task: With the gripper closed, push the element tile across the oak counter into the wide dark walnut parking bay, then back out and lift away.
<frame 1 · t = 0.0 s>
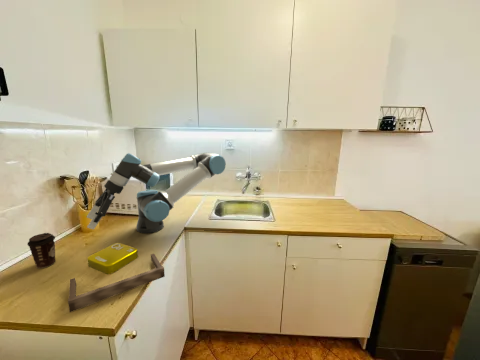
hand: (89, 222, 98), 15 cm above the worktop, tool tilted 35°, fingers open, 13 cm apart
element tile: (114, 262, 95), on the worktop
parking bay: (119, 281, 82), on the worktop
coffee cup: (46, 264, 92), on the worktop
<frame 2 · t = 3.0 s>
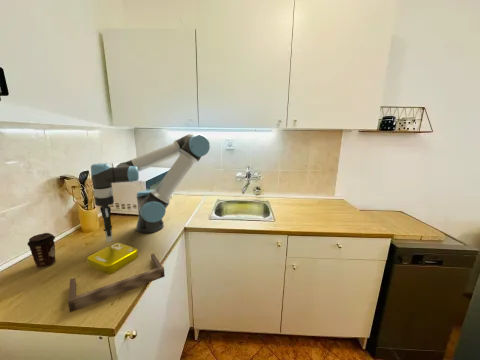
hand: (109, 241, 106), 3 cm above the worktop, tool pointing down, fingers closed
nothing on the worktop moved.
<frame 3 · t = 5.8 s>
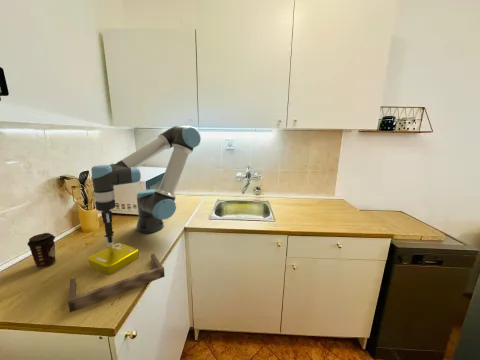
hand: (110, 247, 100), 3 cm above the worktop, tool pointing down, fingers closed
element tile: (114, 262, 95), on the worktop, touching gripper
everything else where it was.
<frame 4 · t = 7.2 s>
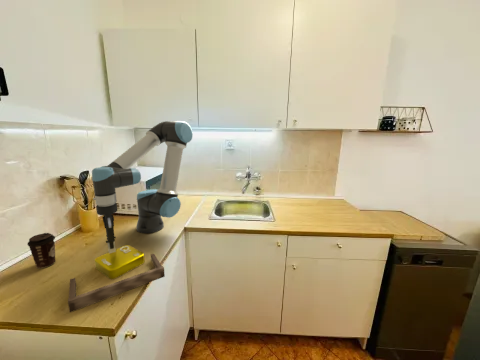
hand: (112, 253, 95), 3 cm above the worktop, tool pointing down, fingers closed
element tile: (121, 265, 93), on the worktop
everything else where it was.
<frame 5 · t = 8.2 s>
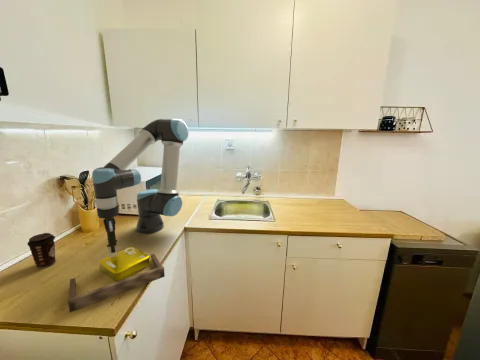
hand: (113, 257, 92), 3 cm above the worktop, tool pointing down, fingers closed
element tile: (125, 267, 91), on the worktop, touching gripper
everything else where it was.
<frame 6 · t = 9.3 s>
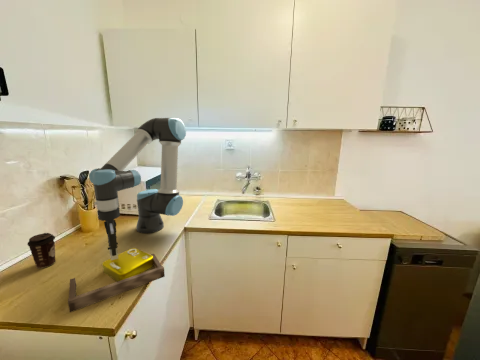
hand: (114, 260, 90), 3 cm above the worktop, tool pointing down, fingers closed
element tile: (129, 268, 90), on the worktop, touching gripper
everything else where it was.
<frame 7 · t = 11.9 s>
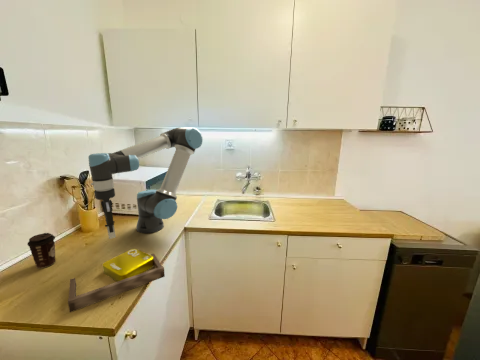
hand: (112, 237, 99), 8 cm above the worktop, tool pointing down, fingers closed
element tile: (129, 269, 90), on the worktop
everything else where it was.
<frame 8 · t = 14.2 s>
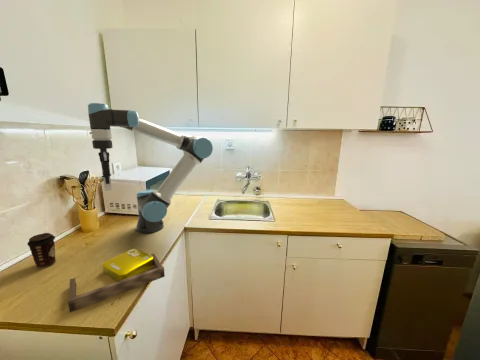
hand: (108, 190, 101), 29 cm above the worktop, tool pointing down, fingers closed
nothing on the worktop moved.
at the end: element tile inside the target area (4.8 cm from its centre), on the worktop; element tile moved 10.9 cm from its start; coffee cup moved 0.2 cm from its start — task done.
